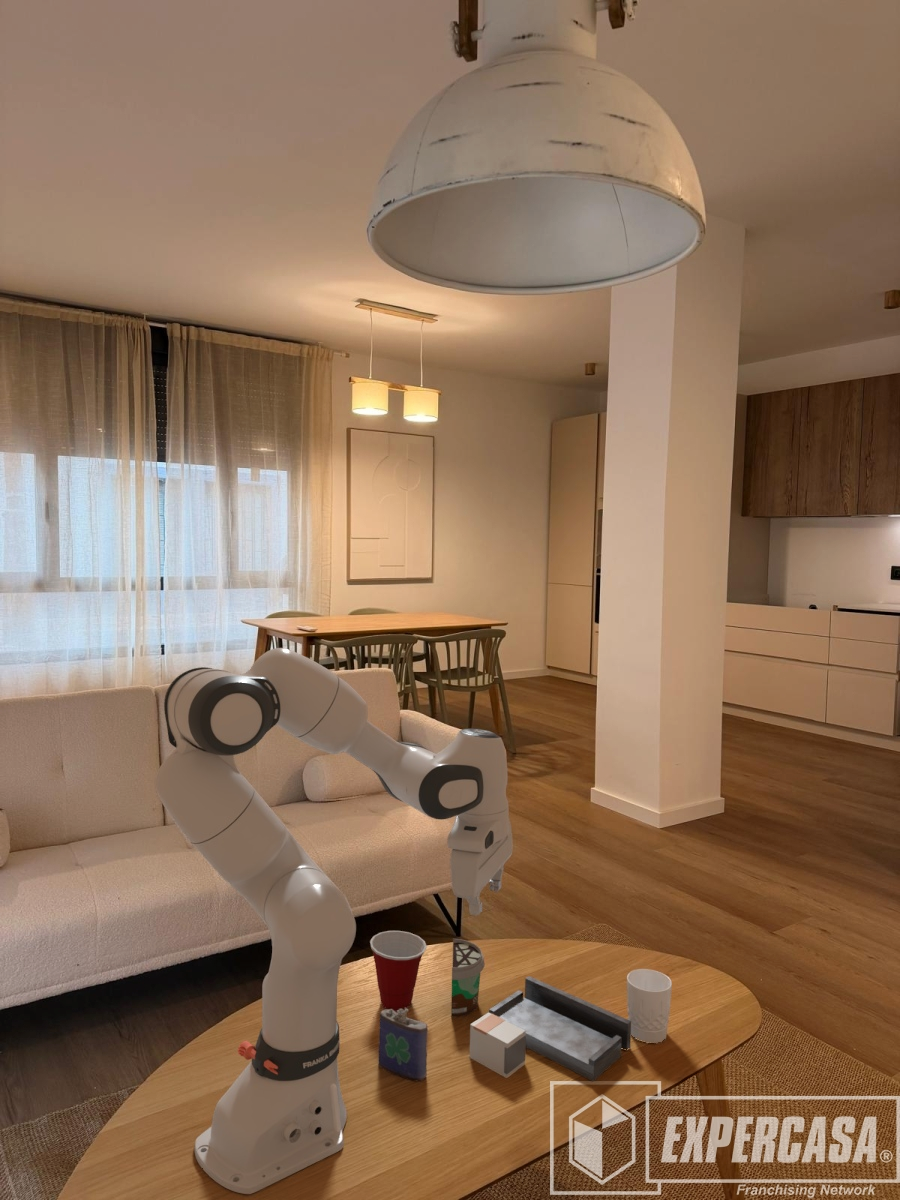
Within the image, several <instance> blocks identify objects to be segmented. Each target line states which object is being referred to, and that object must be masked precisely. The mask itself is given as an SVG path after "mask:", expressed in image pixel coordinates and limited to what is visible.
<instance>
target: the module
mask: <svg viewBox="0 0 900 1200" xmlns="http://www.w3.org/2000/svg"><path fill="white" fill-rule="evenodd" d="M469 1026H470V1027H469V1028H470V1029H469V1059H471V1060H473V1061H475V1062H477V1063H478V1064H480V1065H482V1066H484V1067H486V1068H488V1069H489V1070H492V1071H493V1072H495V1073H497V1074H498V1075H500V1076H502V1077H504V1078H505V1079H507V1078H509V1077H510V1076H512V1075H513V1074H515V1073H516V1072H517V1071H518V1070H519V1069H521V1068H522V1067H524V1065H526V1063H525V1062H526V1048H527V1047H526V1035H525V1033H526V1031H525V1030H523V1029H521V1028H519V1027H517V1026H515V1025H513V1024H511V1023H509V1022H507V1021H505V1020H504V1019H502V1018H500V1017H498V1016H496V1015H494V1014H491V1013H489V1012H487V1013H485V1014H484V1015H483V1016H481V1017H480V1018H477V1020H475V1021H473V1022H472V1023H470V1025H469Z"/></svg>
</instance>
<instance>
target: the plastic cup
mask: <svg viewBox="0 0 900 1200" xmlns="http://www.w3.org/2000/svg"><path fill="white" fill-rule="evenodd" d="M369 943H370V944H369V945H370V948H371V951H372V954H373V960H374V966H375V973H376V981H377V986H378V990H379V998H380V1002H381V1007H383V1008H384V1009H393V1010H394V1011H395V1012H397V1010H399V1009H403V1010H405V1008H407V1009H408V1008H409V1007H410V1006H411V1003H412V1001H413V997H414V992H415V987H416V983H417V977H418V973H419V967H420V963H421V962H422V961H421V960H422V957H423V955H425V952H426V950H427V943H426V941H425V940H424V939H423V938H422V937H420V936H419V935H417V934H413V932H412V933H411V932H409V931H403V930H402V931H401V930H387V931H386V930H385V931H382V932H378V933H377V934H375V935H373V936H372V938H371V939H370V940H369Z"/></svg>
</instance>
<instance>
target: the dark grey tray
mask: <svg viewBox="0 0 900 1200" xmlns="http://www.w3.org/2000/svg"><path fill="white" fill-rule="evenodd" d="M524 980H525V981H524V982H525V983H524V992H523V991H522V990H517V991H515V992H513V993H512V994H510V995H509V996H507V997H506V998H504V999H503V1000H501V1001H500V1002H498V1003H497V1004H495V1005H494V1006H493V1007H491V1008H489V1009H488V1011H489V1013H491V1014H494V1015H496V1016H498V1017H500V1018H502V1019H504V1020H505V1021H507V1022H509V1023H511V1024H513V1025H515V1026H517V1027H519V1028H521V1029H523V1030H525V1031H526V1033H525V1035H526V1048H527V1049H528V1050H531V1051H533V1052H534V1053H537V1054H539V1055H541V1056H543V1057H544V1058H545V1059H549V1060H550V1061H553V1062H554V1063H557V1064H559V1065H560V1066H562V1067H564V1068H566V1069H568V1070H570V1071H571V1072H574V1073H576V1074H578V1075H579V1076H581V1077H584V1078H585V1079H588V1080H589V1081H592V1082H595V1081H596V1080H597V1079H598V1078H599V1077H600V1076H601V1075H603V1072H604V1071H605V1070H606V1069H607V1068H608V1067H609V1066H610V1067H612V1066H613V1065H614V1064H613V1063H614V1062H615V1061H616V1060H617V1061H618V1060H619V1059H621V1057H622V1049H621V1048H623V1049H626V1050H627V1049H628V1048H630V1049H631V1037H632V1036H631V1021H630V1020H628V1018H626V1017H624V1016H621V1015H618V1014H616V1013H614V1012H612V1011H609V1010H607V1009H605V1008H603V1007H601V1006H598V1005H596V1004H593V1003H591V1002H589V1001H587V1000H584V999H582V998H580V997H577V996H575V995H572V994H570V993H569V992H567V991H564V990H562V989H559V988H557V987H554V986H553V985H550V984H548V983H545V982H543V981H541V980H539V979H537V978H534V977H532V976H527V977H525V978H524ZM617 1061H616V1062H617ZM616 1062H615V1063H616ZM610 1067H609V1068H610ZM609 1068H608V1069H609ZM608 1069H607V1070H608ZM607 1070H606V1071H607ZM606 1071H605V1072H606Z"/></svg>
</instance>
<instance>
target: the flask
mask: <svg viewBox="0 0 900 1200" xmlns="http://www.w3.org/2000/svg"><path fill="white" fill-rule="evenodd" d="M408 1012H409V1009H408V1008H405V1009H399V1010H397V1011H394V1010H393V1009H386V1008H384V1009H382V1010H381V1011H380V1013H379V1029H378V1030H379V1037H378V1038H379V1039H378V1067H379V1068H381V1069H383V1070H384V1071H386V1072H387V1073H389V1074H392V1075H395V1076H398V1077H401V1078H403V1079H406V1080H408V1081H409V1080H410V1081H413V1082H420V1083H421V1082H424V1081H425V1080H426V1078H427V1073H428V1070H427V1063H428V1062H427V1056H428V1055H427V1054H428V1053H427V1049H428V1045H427V1044H428V1043H427V1042H428V1040H427V1039H428V1031H429V1030H428V1025H427V1023H426V1022H424V1021H420V1020H416V1019H413V1018H409V1017H407V1016H408V1015H407V1013H408Z"/></svg>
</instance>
